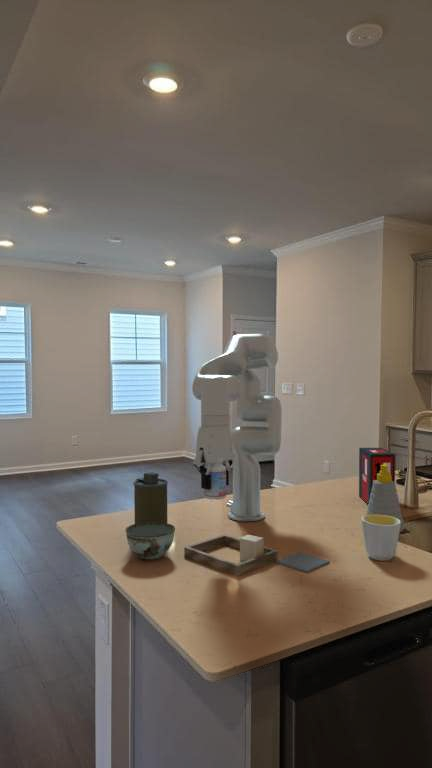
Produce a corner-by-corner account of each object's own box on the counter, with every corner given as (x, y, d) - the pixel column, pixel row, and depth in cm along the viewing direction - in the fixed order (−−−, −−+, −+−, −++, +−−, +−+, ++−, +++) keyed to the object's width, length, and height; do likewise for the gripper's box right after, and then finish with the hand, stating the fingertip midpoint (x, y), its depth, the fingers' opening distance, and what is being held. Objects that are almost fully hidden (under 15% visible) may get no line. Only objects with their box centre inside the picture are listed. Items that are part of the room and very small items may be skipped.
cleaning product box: (359, 497, 213) (359, 447, 212) (381, 497, 213) (381, 447, 212) (370, 508, 196) (370, 454, 196) (394, 508, 196) (395, 454, 196)
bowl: (154, 570, 136) (154, 539, 136) (115, 560, 144) (114, 530, 143) (185, 554, 148) (185, 525, 148) (147, 545, 155) (147, 518, 155)
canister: (175, 538, 162) (175, 472, 162) (148, 546, 154) (148, 478, 154) (152, 530, 170) (151, 468, 169) (125, 538, 162) (125, 473, 161)
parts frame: (184, 556, 146) (184, 547, 146) (224, 542, 158) (224, 534, 158) (237, 576, 132) (237, 566, 132) (277, 559, 143) (277, 550, 143)
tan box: (239, 560, 143) (239, 538, 143) (247, 556, 147) (247, 534, 146) (255, 564, 140) (255, 541, 140) (263, 559, 144) (263, 537, 143)
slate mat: (276, 562, 141) (276, 560, 141) (298, 553, 148) (298, 551, 148) (307, 572, 134) (307, 570, 134) (329, 562, 141) (329, 560, 141)
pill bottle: (224, 500, 142) (223, 459, 142) (201, 499, 144) (201, 458, 143) (228, 495, 148) (228, 455, 148) (206, 494, 150) (206, 454, 149)
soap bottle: (404, 524, 176) (404, 463, 175) (404, 535, 164) (404, 469, 164) (365, 520, 180) (365, 461, 179) (362, 531, 168) (363, 467, 168)
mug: (398, 566, 138) (398, 526, 138) (358, 560, 143) (358, 522, 142) (403, 550, 151) (403, 513, 151) (366, 545, 155) (366, 509, 155)
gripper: (227, 418, 154) (227, 479, 155) (181, 422, 142) (182, 489, 143) (246, 420, 149) (246, 483, 149) (201, 425, 137) (201, 494, 137)
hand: (215, 486), depth 146 cm, fingers closed on pill bottle, 6 cm apart
